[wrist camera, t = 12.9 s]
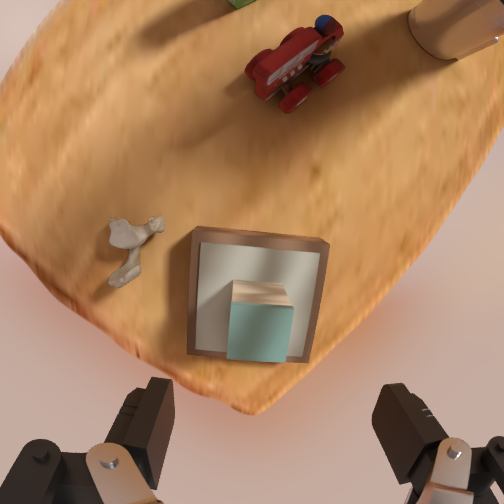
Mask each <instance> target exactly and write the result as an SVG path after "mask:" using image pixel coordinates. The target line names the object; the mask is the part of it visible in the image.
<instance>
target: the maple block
mask: <svg viewBox="0 0 504 504" xmlns="http://www.w3.org/2000/svg"><path fill="white" fill-rule="evenodd" d="M293 314H294V308H293V306H292V305H291V303H290V300H289V298H288V296H287V293H286V291H285V289H284V286H283V284H282V283H269V282H257V281H245V280H234V279H233V290H232V301H231V310H230V322H229V334H228V347H227V359H232V360H246V361H261V362H282V363H285V362H286V356H287V351H288V345H289V339H290V333H291V327H292V321H293Z"/></svg>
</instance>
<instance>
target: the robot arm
mask: <svg viewBox="0 0 504 504" xmlns="http://www.w3.org/2000/svg"><path fill="white" fill-rule="evenodd" d="M408 24H409V28H410V30H411V33H412V34H413V36H414V38H415V39H416V41H417V42H418V43H419V44H420V45H421V46H422V48H423V49H425V50H426V51H427V52H428V53H430V54H431V55H433V56H434V57H437V58H439V59H442V60H450V59H453V58H455V59H458V60H461V59H463V58H465V57H467V56H469V55H471V54H473V53H475V52H478V51H480V50H482V49H484V48H486V47H488V46H491V45H493V44H495V43H497V42H498V37H499V36H501V35H503V34H504V0H422V1H421V2H420V3H419V4H418V5H417V6H416V7H414V8H413V9H412V10H411V12H410V13H409V15H408ZM174 419H175V406H174V394H173V381H172V379H164V378H158V377H151V379H150V381H149V383H148V385H147V388H146V389H142V388H136V389H135V390H133V391H132V392H131V393H129V394H128V395H127V397H126V399H125V401H124V403H123V406H122V407H121V409H120V411H119V414H118V415H117V417H116V419H115V421H114V423H113V425H112V427H111V429H110V431H109V433H108V435H107V437H106V439H105V442H104V443H101V444H98V445H95V446H94V447H92V448H91V449H90V450H89V451H88V452H87V453H68V452H61V451H60V449H59V447H58V446H57V445H56V444H55V443H53V442H52V441H49V440H46V439H36V440H32V441H30V442H29V443H27V444H26V445H25V446H24V447H23V449H22V451H21V452H20V454H19V456H18V457H17V459H16V461H15V462H14V464H13V466H12V467H11V469H10V471H9V473H8V474H7V476H6V478H5V480H4V482H3V484H2V485H1V487H0V504H164V503H163V502H162V501H160V500H157V498H156V497H155V495H154V494H153V492H152V491H151V489H153V490H157V486H158V482H159V478H160V474H161V470H162V467H163V463H164V459H165V455H166V451H167V447H168V444H169V440H170V436H171V432H172V429H173V425H174ZM372 426H373V429H374V431H375V433H376V435H377V437H378V439H379V441H380V443H381V446H382V448H383V450H384V452H385V454H386V456H387V458H388V461H389V463H390V465H391V467H392V469H393V471H394V473H395V476H396V478H397V480H398V482H399V484H400V485H401V484H404V483H408V482H411V483H412V485H413V486H412V487H411V488H410V490H409V492H408V495H407V498H406V500H405V503H404V504H499V503H498V501H497V499H496V497H495V496H494V494H493V492H492V490H491V489H490V486H491V485H492V484H493V483H494V481H496V482H497V484H498V486H499V487H500V489H501V491H502V492H503V494H504V437H502V436H497V437H493V438H492V439H491V440H490V441H489V442H488V444H487V445H486V447H482V448H481V447H480V448H470V446H469V445H468V444H467V443H466V442H465V441H463V440H461V439H459V438H449V436H448V435H447V434H446V432H445V431H444V429H443V428H442V426H441V425H440V424H439V422H438V421H437V419H436V418H435V417H434V416H433V414H432V413H431V411H430V410H428V407H427V406H426V404H425V403H424V402H423V400H422V399H420V398H419V397H417V396H416V395H415V394H413V393H412V394H411V393H410V392H409V391H408V389H407V388H406V386H405V385H404V384H403V383H396V384H386V385H384V386H383V387H382V389H381V392H380V395H379V397H378V400H377V403H376V406H375V408H374V411H373V414H372Z"/></svg>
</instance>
